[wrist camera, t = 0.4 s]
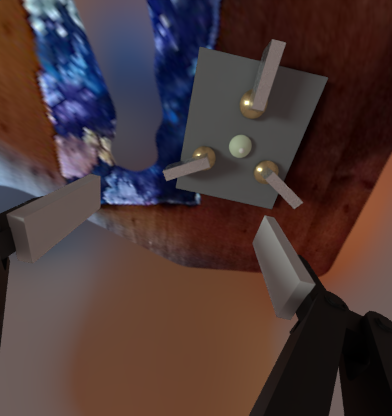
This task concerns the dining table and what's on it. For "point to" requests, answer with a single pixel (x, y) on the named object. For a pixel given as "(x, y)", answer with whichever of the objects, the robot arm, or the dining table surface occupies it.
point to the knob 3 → (275, 181)
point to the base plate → (244, 126)
